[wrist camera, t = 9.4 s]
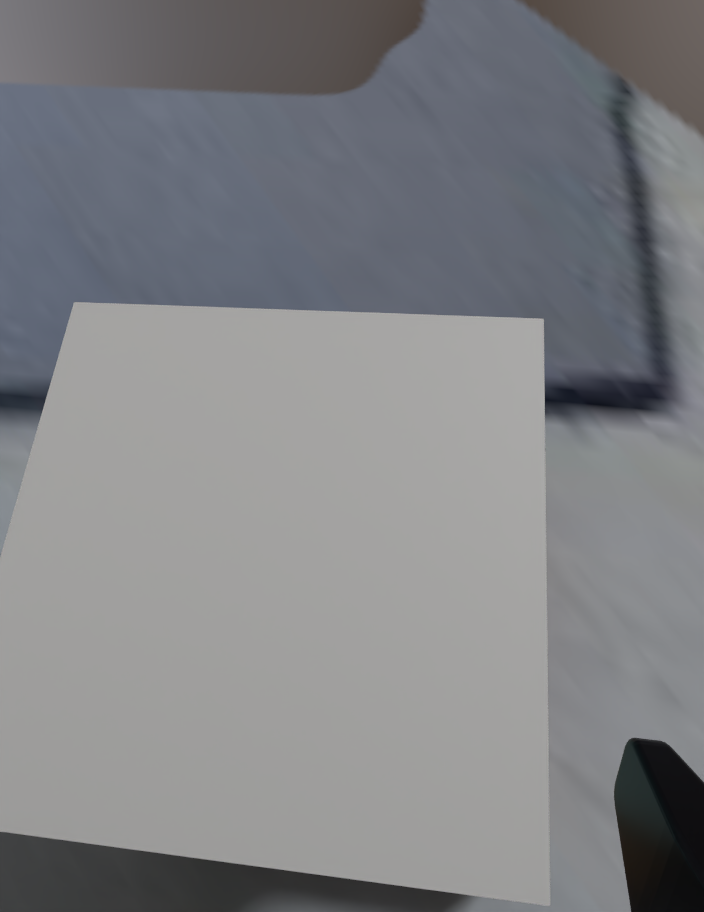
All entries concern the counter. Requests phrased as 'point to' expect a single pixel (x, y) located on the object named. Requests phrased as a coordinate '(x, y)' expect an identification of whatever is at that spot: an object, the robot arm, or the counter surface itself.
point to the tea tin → (286, 596)
